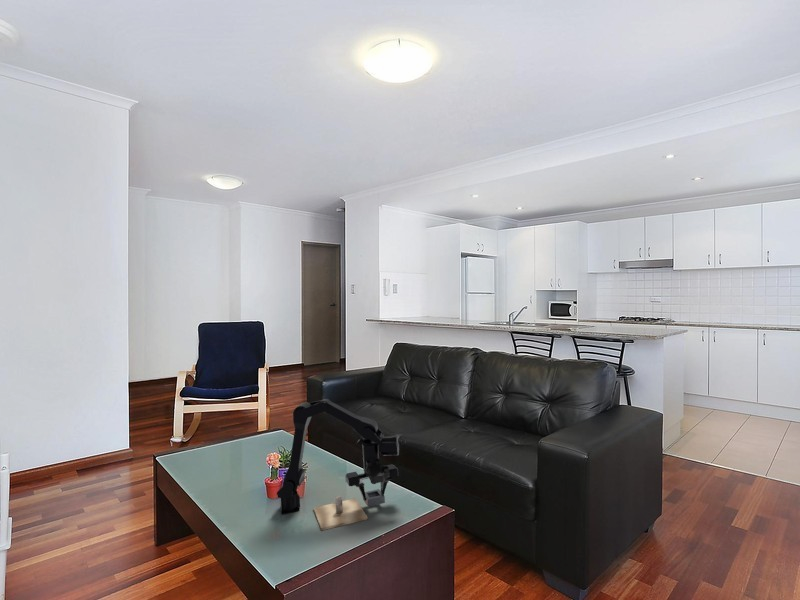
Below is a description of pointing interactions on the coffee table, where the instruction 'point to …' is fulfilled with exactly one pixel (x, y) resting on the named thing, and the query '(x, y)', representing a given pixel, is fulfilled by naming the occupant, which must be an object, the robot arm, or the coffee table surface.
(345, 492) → the coffee table surface
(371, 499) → the collar
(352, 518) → the wooden peg base
